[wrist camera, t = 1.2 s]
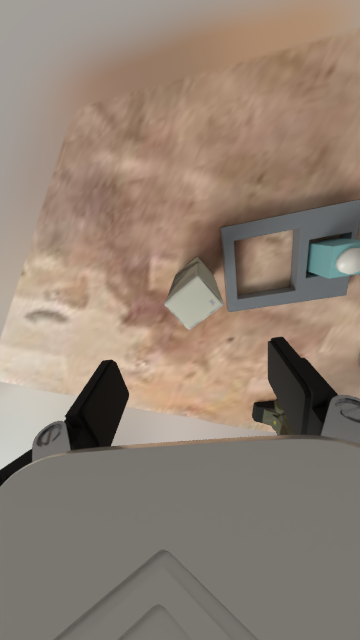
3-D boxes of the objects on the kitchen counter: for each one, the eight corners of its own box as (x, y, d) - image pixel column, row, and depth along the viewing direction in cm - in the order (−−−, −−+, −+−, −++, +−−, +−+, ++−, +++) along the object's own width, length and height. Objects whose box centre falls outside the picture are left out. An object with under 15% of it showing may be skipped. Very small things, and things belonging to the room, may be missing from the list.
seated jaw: (335, 238, 28) (376, 240, 22) (331, 265, 30) (368, 275, 23) (306, 243, 28) (338, 247, 22) (304, 269, 30) (333, 280, 24)
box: (197, 255, 30) (200, 271, 18) (214, 276, 31) (227, 303, 20) (173, 277, 32) (162, 304, 20) (190, 295, 33) (188, 331, 21)
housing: (352, 200, 26) (364, 198, 24) (337, 291, 31) (346, 295, 29) (219, 227, 28) (221, 227, 26) (227, 307, 34) (229, 312, 32)
